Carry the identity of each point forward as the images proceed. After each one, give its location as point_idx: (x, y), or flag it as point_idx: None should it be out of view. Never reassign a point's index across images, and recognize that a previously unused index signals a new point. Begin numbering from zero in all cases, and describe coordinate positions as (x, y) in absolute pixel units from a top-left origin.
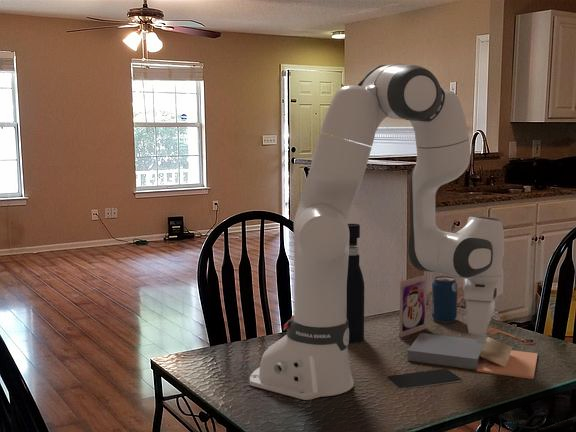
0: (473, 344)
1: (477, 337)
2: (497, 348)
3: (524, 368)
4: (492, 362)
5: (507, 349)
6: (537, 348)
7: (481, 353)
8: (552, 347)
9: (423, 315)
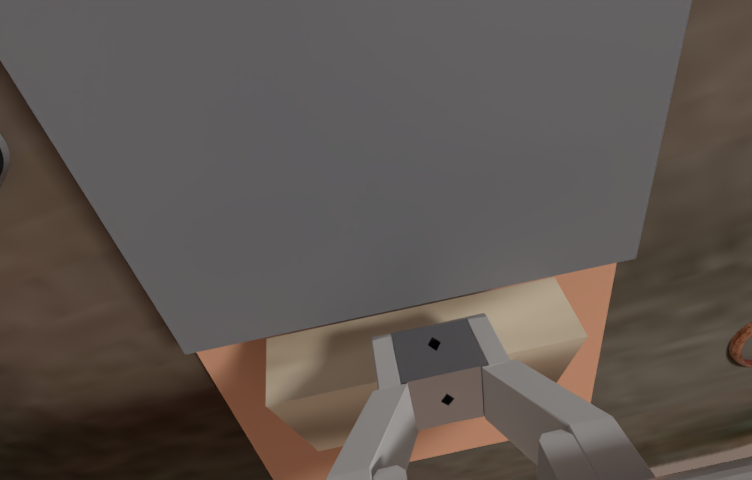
0: (504, 221)
1: (377, 382)
2: None
3: None
4: None
5: None
6: (681, 388)
7: (268, 362)
8: (704, 418)
9: None
